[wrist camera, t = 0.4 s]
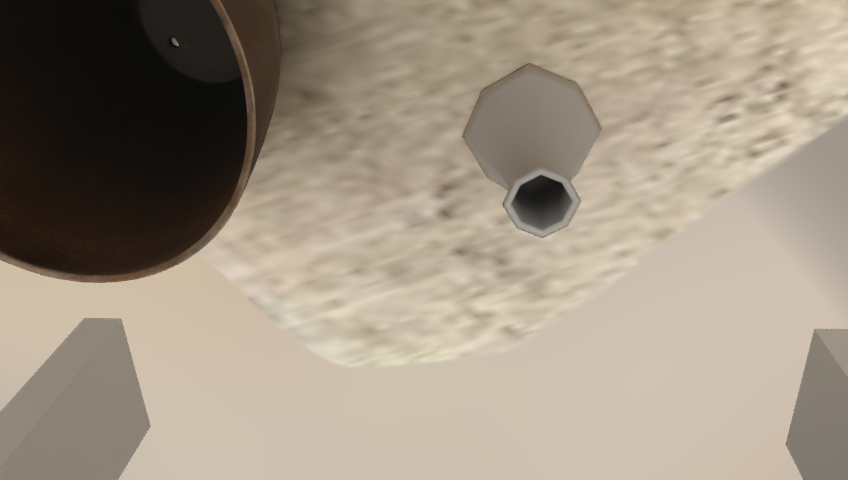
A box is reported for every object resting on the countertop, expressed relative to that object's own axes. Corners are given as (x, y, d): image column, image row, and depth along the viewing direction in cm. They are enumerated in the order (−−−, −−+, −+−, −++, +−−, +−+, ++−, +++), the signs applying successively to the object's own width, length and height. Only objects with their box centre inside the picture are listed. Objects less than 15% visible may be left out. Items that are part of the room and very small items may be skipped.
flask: (533, 213, 43) (544, 303, 34) (440, 136, 41) (425, 210, 32) (624, 124, 40) (661, 197, 31) (528, 38, 38) (539, 89, 30)
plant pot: (100, 142, 43) (-92, 276, 29) (39, -141, 37) (-249, -145, 22) (348, 149, 42) (274, 292, 28) (333, -142, 35) (226, -147, 21)
